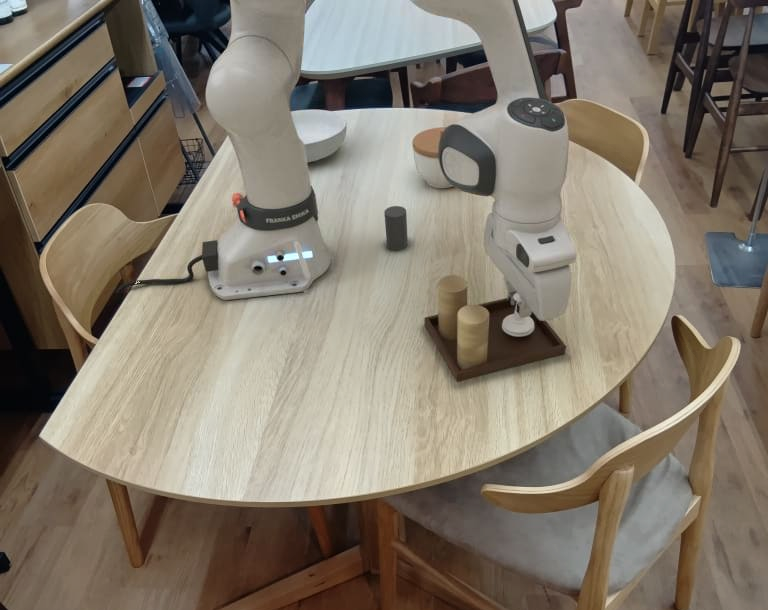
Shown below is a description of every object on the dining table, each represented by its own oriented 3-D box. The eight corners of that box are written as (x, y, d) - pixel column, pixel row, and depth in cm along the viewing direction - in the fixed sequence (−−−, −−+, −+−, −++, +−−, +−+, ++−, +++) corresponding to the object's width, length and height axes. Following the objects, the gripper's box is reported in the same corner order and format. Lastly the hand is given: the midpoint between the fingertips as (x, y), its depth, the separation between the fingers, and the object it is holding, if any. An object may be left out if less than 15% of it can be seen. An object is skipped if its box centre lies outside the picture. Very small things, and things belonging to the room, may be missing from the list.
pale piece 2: (463, 375, 97) (464, 326, 91) (452, 357, 100) (452, 308, 94) (491, 368, 98) (494, 319, 92) (479, 350, 101) (481, 301, 95)
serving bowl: (366, 144, 160) (363, 115, 155) (315, 181, 147) (311, 151, 143) (296, 130, 169) (292, 103, 164) (243, 164, 156) (237, 136, 151)
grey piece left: (390, 252, 124) (387, 218, 119) (384, 241, 127) (381, 208, 122) (410, 247, 125) (409, 214, 120) (404, 237, 128) (402, 204, 123)
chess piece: (526, 340, 100) (532, 285, 93) (496, 331, 102) (499, 276, 95) (539, 322, 103) (545, 267, 96) (509, 313, 105) (513, 259, 98)
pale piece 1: (444, 342, 103) (443, 294, 97) (434, 326, 106) (433, 278, 100) (470, 336, 103) (472, 288, 97) (460, 320, 107) (461, 272, 100)
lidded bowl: (483, 184, 141) (485, 132, 134) (431, 200, 138) (430, 148, 130) (453, 162, 150) (453, 113, 142) (403, 176, 146) (401, 126, 139)
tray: (456, 385, 97) (456, 374, 95) (424, 328, 107) (424, 317, 105) (564, 357, 100) (566, 346, 98) (523, 305, 110) (524, 293, 108)
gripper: (474, 197, 98) (472, 276, 107) (538, 269, 83) (529, 353, 93) (514, 188, 99) (508, 267, 108) (584, 258, 84) (570, 343, 94)
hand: (518, 308), depth 100 cm, fingers closed on chess piece
